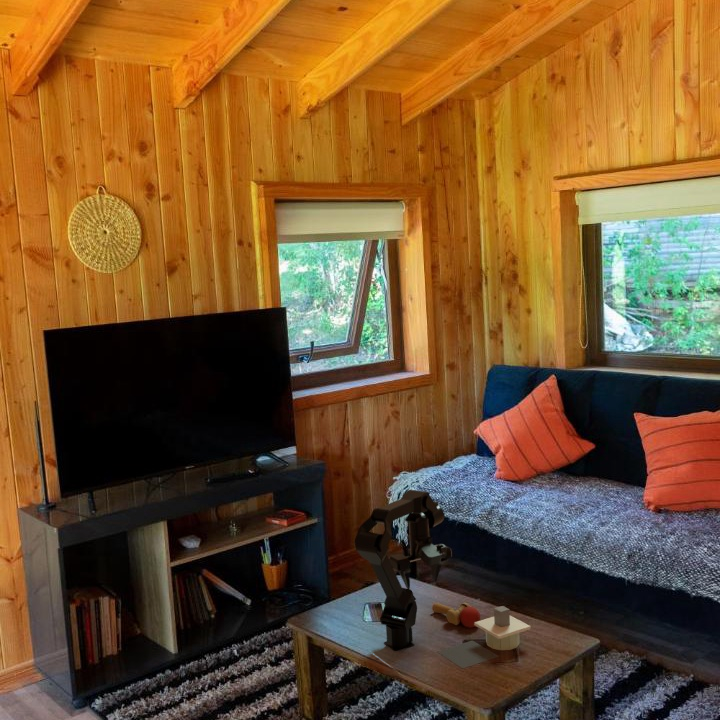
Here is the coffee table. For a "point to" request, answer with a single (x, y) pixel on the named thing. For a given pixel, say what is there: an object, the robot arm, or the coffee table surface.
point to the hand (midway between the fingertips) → (421, 584)
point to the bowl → (503, 642)
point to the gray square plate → (467, 654)
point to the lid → (502, 624)
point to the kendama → (459, 614)
